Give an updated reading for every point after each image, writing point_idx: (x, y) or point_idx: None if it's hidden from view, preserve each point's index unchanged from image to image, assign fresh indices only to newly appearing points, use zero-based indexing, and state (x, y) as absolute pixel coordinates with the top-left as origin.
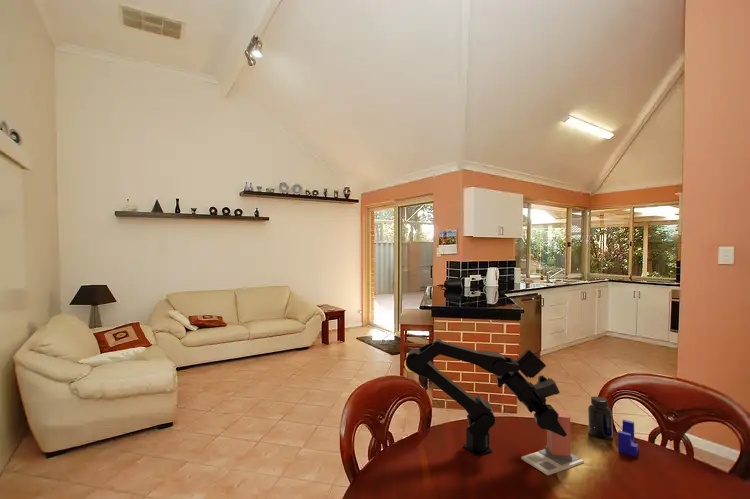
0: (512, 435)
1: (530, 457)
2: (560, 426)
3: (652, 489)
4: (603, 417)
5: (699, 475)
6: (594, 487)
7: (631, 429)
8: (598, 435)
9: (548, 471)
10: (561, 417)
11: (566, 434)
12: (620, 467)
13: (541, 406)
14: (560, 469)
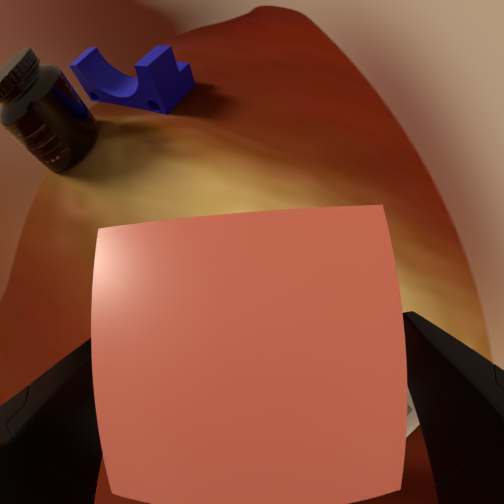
0: None
1: None
2: (489, 369)
3: (377, 106)
4: (60, 89)
5: (261, 27)
6: (447, 257)
7: (101, 62)
8: (84, 146)
9: None
10: (402, 346)
11: (412, 314)
12: (279, 131)
13: (38, 484)
14: None
